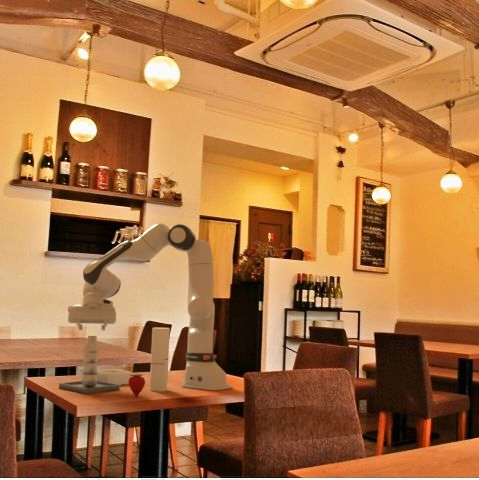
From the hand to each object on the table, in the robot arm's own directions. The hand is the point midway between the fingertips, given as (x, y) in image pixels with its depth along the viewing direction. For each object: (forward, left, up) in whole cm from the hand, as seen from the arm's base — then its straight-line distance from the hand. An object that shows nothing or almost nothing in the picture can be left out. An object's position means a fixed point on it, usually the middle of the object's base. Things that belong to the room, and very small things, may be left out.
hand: (91, 329), depth 236 cm
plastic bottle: (-9, +6, -22) cm, 25 cm away
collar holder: (-2, -10, -23) cm, 25 cm away
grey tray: (-9, +6, -23) cm, 26 cm away
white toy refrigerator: (-28, -14, -23) cm, 39 cm away
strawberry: (-34, +3, -23) cm, 41 cm away
